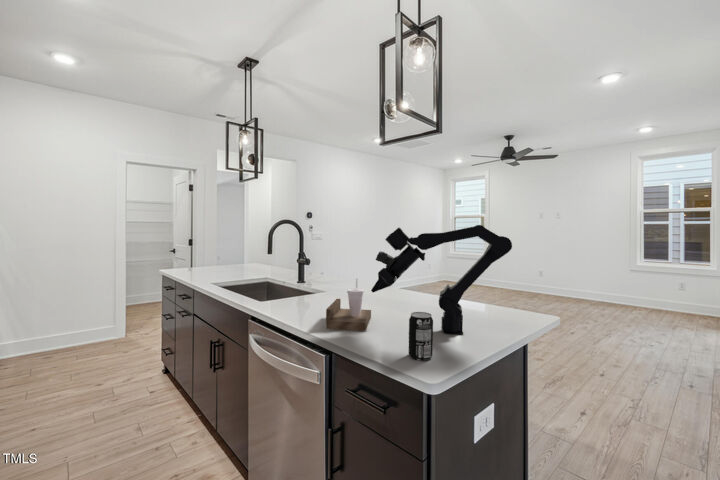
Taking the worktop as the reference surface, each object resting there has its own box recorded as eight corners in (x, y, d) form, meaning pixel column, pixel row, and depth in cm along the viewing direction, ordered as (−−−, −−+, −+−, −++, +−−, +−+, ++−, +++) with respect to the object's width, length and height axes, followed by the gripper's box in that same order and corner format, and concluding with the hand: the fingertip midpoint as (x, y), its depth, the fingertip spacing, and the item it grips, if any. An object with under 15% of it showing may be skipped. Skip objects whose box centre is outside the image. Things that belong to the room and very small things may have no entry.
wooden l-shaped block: (371, 317, 134) (371, 300, 133) (365, 331, 116) (365, 311, 116) (336, 315, 136) (336, 298, 135) (326, 329, 118) (326, 309, 117)
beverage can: (415, 350, 98) (416, 310, 98) (436, 356, 94) (437, 314, 94) (404, 357, 93) (404, 314, 93) (425, 363, 89) (426, 318, 88)
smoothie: (354, 319, 120) (354, 280, 120) (343, 315, 125) (343, 278, 124) (367, 315, 124) (367, 278, 124) (356, 312, 129) (356, 276, 129)
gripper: (393, 242, 130) (365, 270, 133) (384, 245, 112) (352, 276, 115) (413, 263, 128) (384, 290, 132) (408, 269, 110) (375, 300, 114)
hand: (374, 289), depth 123 cm, fingers open, 9 cm apart
